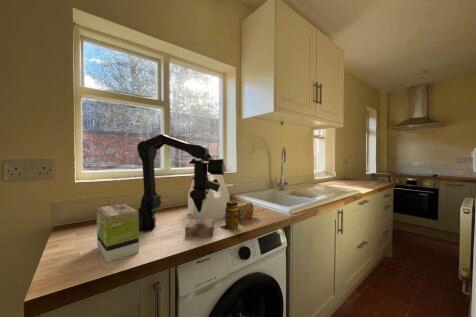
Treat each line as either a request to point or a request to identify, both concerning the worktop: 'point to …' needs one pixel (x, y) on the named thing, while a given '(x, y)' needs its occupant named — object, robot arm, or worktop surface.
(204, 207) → the canister
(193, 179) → the robot arm
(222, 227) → the condiment
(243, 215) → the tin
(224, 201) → the white plastic jug
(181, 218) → the worktop surface
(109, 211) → the tea box
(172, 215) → the worktop surface
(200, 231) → the riser
